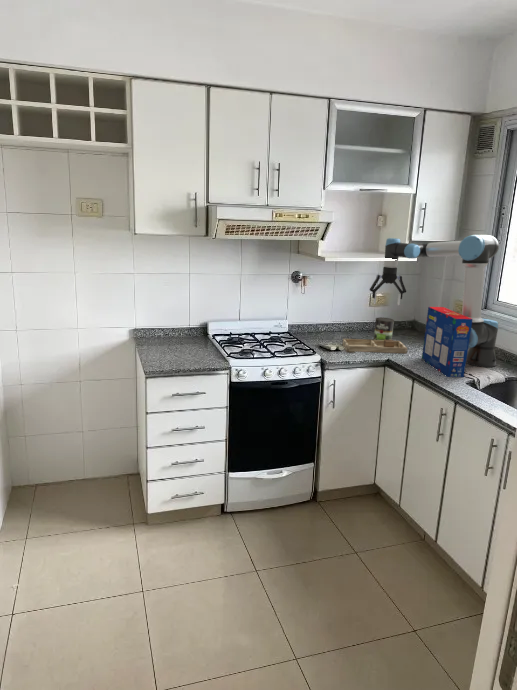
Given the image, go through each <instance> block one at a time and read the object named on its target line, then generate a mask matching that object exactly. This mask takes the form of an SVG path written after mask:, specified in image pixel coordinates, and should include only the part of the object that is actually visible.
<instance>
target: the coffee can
mask: <svg viewBox="0 0 517 690" xmlns="http://www.w3.org/2000/svg"><path fill="white" fill-rule="evenodd" d="M394 323H395V319H393V318H389V317H376V318H375V324H374V325H375V326H374V334H373V340H393V339H392V338H393V331H394Z"/></svg>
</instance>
